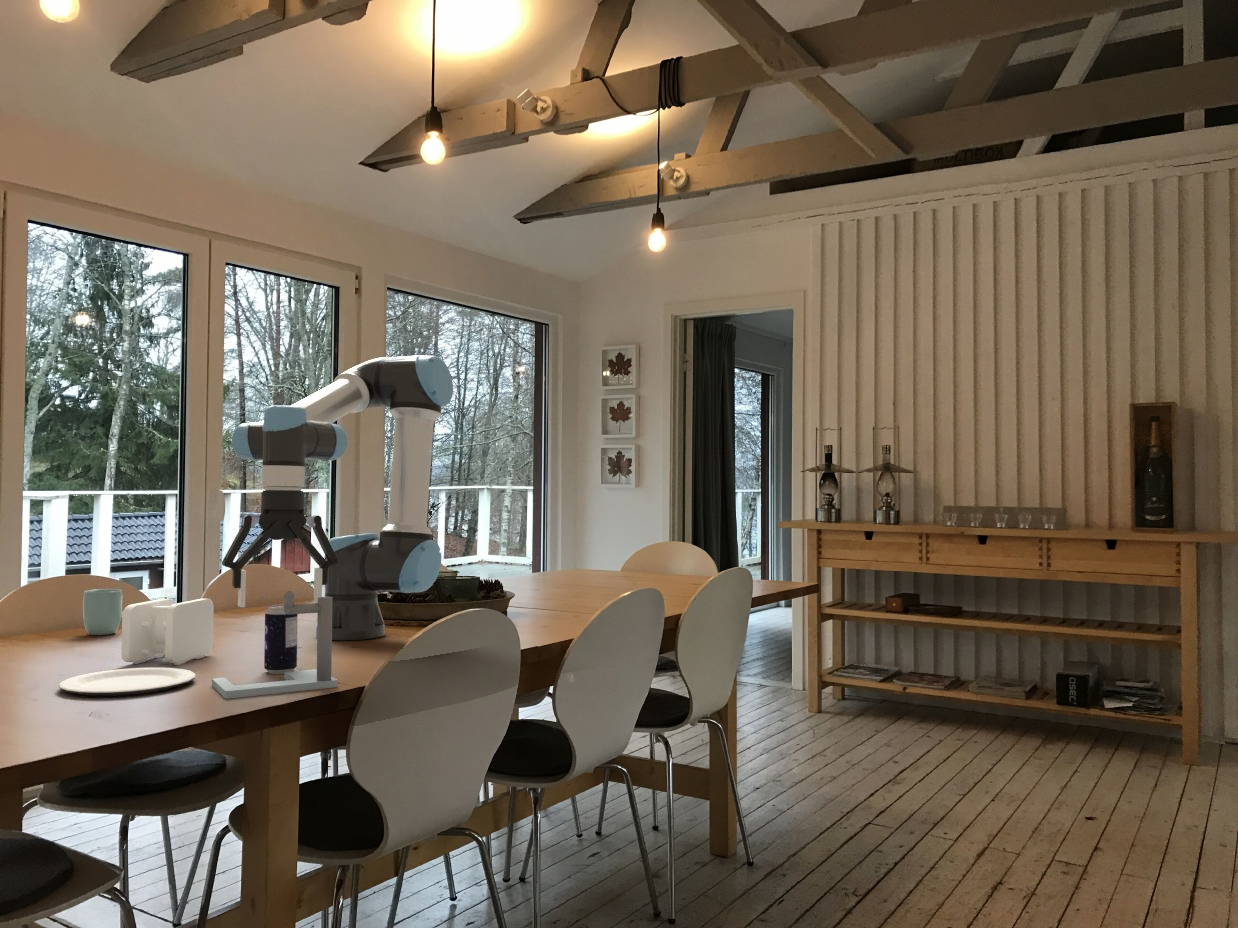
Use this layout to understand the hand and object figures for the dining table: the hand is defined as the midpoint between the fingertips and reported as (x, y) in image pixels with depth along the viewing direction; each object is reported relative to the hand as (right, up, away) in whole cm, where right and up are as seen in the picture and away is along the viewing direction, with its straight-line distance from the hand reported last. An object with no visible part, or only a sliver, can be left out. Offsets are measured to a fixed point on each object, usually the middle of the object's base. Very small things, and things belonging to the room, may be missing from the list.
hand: (280, 604), depth 178 cm
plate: (-21, -12, -13) cm, 28 cm away
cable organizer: (-26, -13, +11) cm, 31 cm away
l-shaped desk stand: (+4, -12, -13) cm, 18 cm away
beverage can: (0, -13, 0) cm, 13 cm away
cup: (-56, -13, +44) cm, 72 cm away
